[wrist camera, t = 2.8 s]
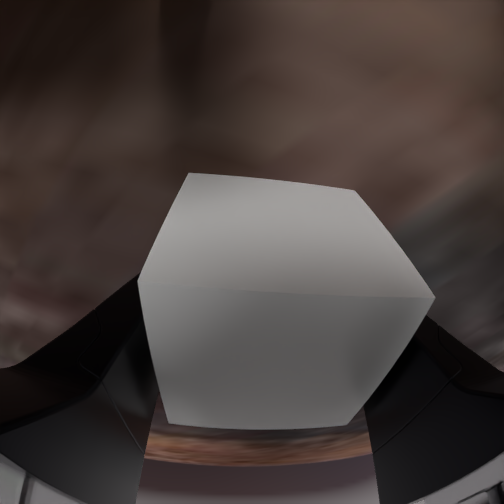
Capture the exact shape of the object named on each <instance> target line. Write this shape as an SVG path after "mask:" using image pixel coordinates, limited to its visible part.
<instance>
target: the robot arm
mask: <svg viewBox="0 0 504 504" xmlns="http://www.w3.org/2000/svg"><path fill="white" fill-rule="evenodd" d="M140 274H141V272H140V273H139V274H138V275H136V276H135V277H134V278H133V279H131V280H130V281H129V282H127V283H126V284H125V285H124V286H122V287H121V288H120V289H119V290H117V291H116V292H115V293H114V294H112V295H111V296H110V297H109V298H107V299H106V300H105V301H104V302H102V303H101V304H100V305H99V306H97V307H96V308H95V310H92V311H91V312H90V313H89V314H87V315H86V316H85V317H84V318H82V319H81V320H80V321H79V322H77V323H76V324H75V325H73V326H72V327H71V328H69V329H68V330H67V331H65V332H64V333H62V334H61V335H60V336H58V337H57V338H55V339H54V340H52V341H51V342H50V343H48V344H47V345H45V346H44V347H42V348H41V349H39V350H38V351H37V352H35V353H34V354H32V355H31V356H29V357H28V358H27V359H25V360H24V361H22V362H20V363H18V364H16V365H14V366H11V367H7V368H1V369H0V504H135V503H136V497H137V492H138V486H139V481H140V475H141V470H142V465H143V460H144V454H145V450H146V445H147V440H148V436H149V431H150V427H151V422H152V418H153V413H154V409H155V405H156V400H157V396H158V392H159V386H158V382H157V378H156V374H155V370H154V366H153V361H152V357H151V352H150V348H149V343H148V338H147V333H146V328H145V323H144V317H143V312H142V306H141V300H140V294H139V288H138V279H139V276H140ZM363 406H364V411H365V415H366V421H367V426H368V431H369V436H370V442H371V447H372V453H373V460H374V466H375V473H376V479H377V486H378V493H379V501H380V504H413V503H416V502H419V501H422V500H424V502H425V504H504V372H502V371H500V370H498V369H497V368H495V367H494V366H492V365H491V364H490V363H488V362H487V361H486V360H484V359H483V358H481V357H480V356H479V355H477V354H476V353H475V352H473V351H472V350H470V349H469V348H468V347H466V346H465V345H464V344H462V343H461V342H460V341H458V340H457V339H456V338H454V337H453V336H452V335H451V334H449V333H448V332H447V331H446V330H444V329H443V328H442V327H441V326H438V324H437V323H436V322H434V321H433V320H432V319H430V318H429V317H428V316H427V315H425V317H424V319H423V320H422V322H421V324H420V325H419V327H418V328H417V330H416V332H415V333H414V335H413V337H412V338H411V340H410V341H409V343H408V344H407V346H406V347H405V349H404V350H403V352H402V353H401V355H400V356H399V358H398V359H397V361H396V362H395V364H394V365H393V367H392V368H391V369H390V371H389V372H388V374H387V375H386V376H385V378H384V379H383V380H382V382H381V383H380V384H379V386H378V387H377V388H376V390H375V391H374V392H373V394H372V395H371V396H370V397H369V399H368V400H367V401H366V402H365V404H364V405H363Z"/></svg>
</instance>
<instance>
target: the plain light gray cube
mask: <svg viewBox="0 0 504 504" xmlns="http://www.w3.org/2000/svg"><path fill="white" fill-rule="evenodd" d="M138 288H139V294H140V300H141V306H142V312H143V317H144V323H145V328H146V333H147V338H148V343H149V348H150V352H151V357H152V361H153V366H154V370H155V374H156V378H157V382H158V386H159V390H160V394H161V398H162V401H163V405H164V408H165V412H166V416H167V419H168V422H169V423H171V424H179V425H188V426H198V427H210V428H225V429H256V430H274V429H304V428H319V427H331V426H341V425H347V424H348V423H349V422H350V421H351V419H352V418H353V417H354V416H355V415H356V413H357V412H358V411H359V410H360V409H361V407H362V406H363V405H364V404H365V402H366V401H367V400H368V399H369V397H370V396H371V395H372V394H373V392H374V391H375V390H376V388H377V387H378V386H379V384H380V383H381V382H382V380H383V379H384V378H385V376H386V375H387V374H388V372H389V371H390V369H391V368H392V367H393V365H394V364H395V362H396V361H397V359H398V358H399V356H400V355H401V353H402V352H403V350H404V349H405V347H406V346H407V344H408V343H409V341H410V340H411V338H412V337H413V335H414V333H415V332H416V330H417V328H418V327H419V325H420V324H421V322H422V320H423V319H424V317H425V315H426V313H427V312H428V310H429V308H430V306H431V305H432V303H433V301H434V299H435V296H434V295H433V293H432V292H431V290H430V289H429V287H428V286H427V284H426V283H425V281H424V280H423V278H422V277H421V275H420V274H419V273H418V271H417V270H416V268H415V267H414V265H413V264H412V263H411V261H410V260H409V259H408V257H407V256H406V254H405V253H404V252H403V250H402V249H401V248H400V246H399V245H398V244H397V242H396V241H395V240H394V238H393V237H392V236H391V234H390V233H389V232H388V231H387V229H386V228H385V227H384V225H383V224H382V223H381V222H380V220H379V219H378V218H377V217H376V215H375V214H374V213H373V212H372V211H371V209H370V208H369V207H368V206H367V204H366V203H365V202H364V201H363V200H362V198H361V197H360V196H359V195H358V194H357V193H356V191H354V190H348V189H341V188H334V187H327V186H320V185H313V184H305V183H297V182H288V181H280V180H270V179H261V178H250V177H239V176H227V175H214V174H199V173H188V175H187V177H186V179H185V181H184V183H183V185H182V187H181V189H180V191H179V193H178V195H177V197H176V199H175V201H174V203H173V205H172V207H171V209H170V211H169V213H168V215H167V217H166V219H165V221H164V223H163V225H162V227H161V229H160V231H159V234H158V236H157V238H156V240H155V242H154V244H153V247H152V249H151V251H150V253H149V256H148V258H147V260H146V262H145V265H144V267H143V269H142V272H141V274H140V276H139V279H138Z"/></svg>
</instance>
